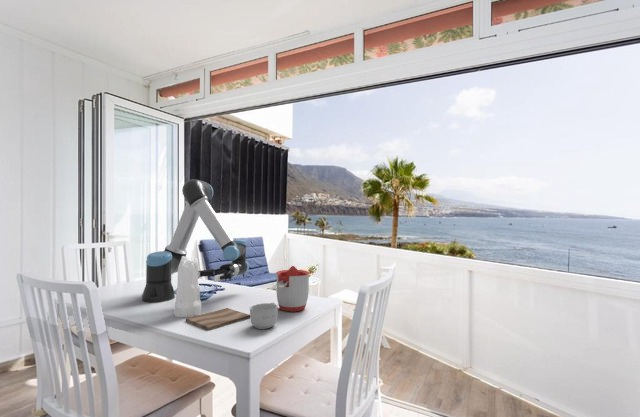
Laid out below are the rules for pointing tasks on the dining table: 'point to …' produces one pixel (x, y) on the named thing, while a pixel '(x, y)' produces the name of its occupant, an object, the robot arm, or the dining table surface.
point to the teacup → (263, 315)
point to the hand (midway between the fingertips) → (202, 277)
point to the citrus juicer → (292, 289)
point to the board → (217, 318)
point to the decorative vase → (187, 289)
